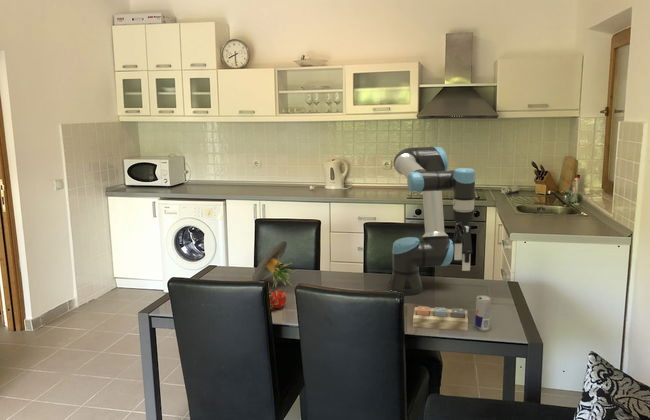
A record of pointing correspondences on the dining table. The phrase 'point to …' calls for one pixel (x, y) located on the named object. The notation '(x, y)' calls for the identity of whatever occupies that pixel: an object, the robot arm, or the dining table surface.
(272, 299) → the dragon fruit
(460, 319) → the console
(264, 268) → the grey yellow green piece
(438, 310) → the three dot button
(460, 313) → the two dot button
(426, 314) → the one dot button
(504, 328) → the dining table surface
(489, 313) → the energy drink
